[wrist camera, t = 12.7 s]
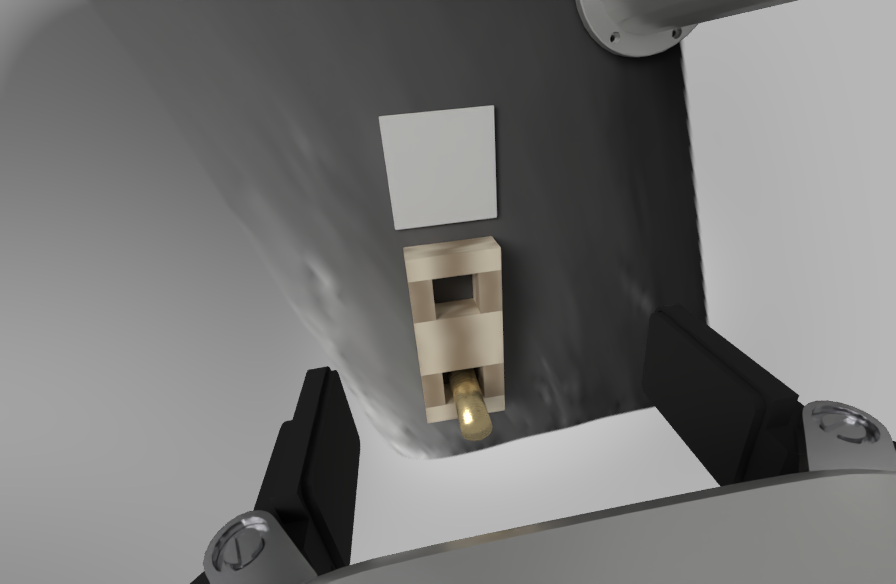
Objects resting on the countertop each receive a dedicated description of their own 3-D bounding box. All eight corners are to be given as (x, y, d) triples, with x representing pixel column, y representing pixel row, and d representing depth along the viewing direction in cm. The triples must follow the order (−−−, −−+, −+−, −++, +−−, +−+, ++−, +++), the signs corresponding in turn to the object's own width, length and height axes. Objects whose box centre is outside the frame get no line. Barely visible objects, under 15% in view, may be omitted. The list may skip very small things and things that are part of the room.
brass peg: (470, 353, 47) (491, 414, 38) (472, 374, 48) (492, 437, 39) (445, 357, 46) (460, 420, 37) (447, 378, 48) (462, 443, 39)
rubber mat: (492, 105, 35) (493, 105, 35) (495, 216, 40) (496, 217, 39) (378, 116, 34) (378, 116, 34) (395, 228, 39) (395, 230, 38)
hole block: (491, 236, 41) (500, 247, 37) (497, 390, 50) (504, 410, 46) (403, 247, 40) (404, 260, 37) (424, 402, 49) (427, 423, 46)
